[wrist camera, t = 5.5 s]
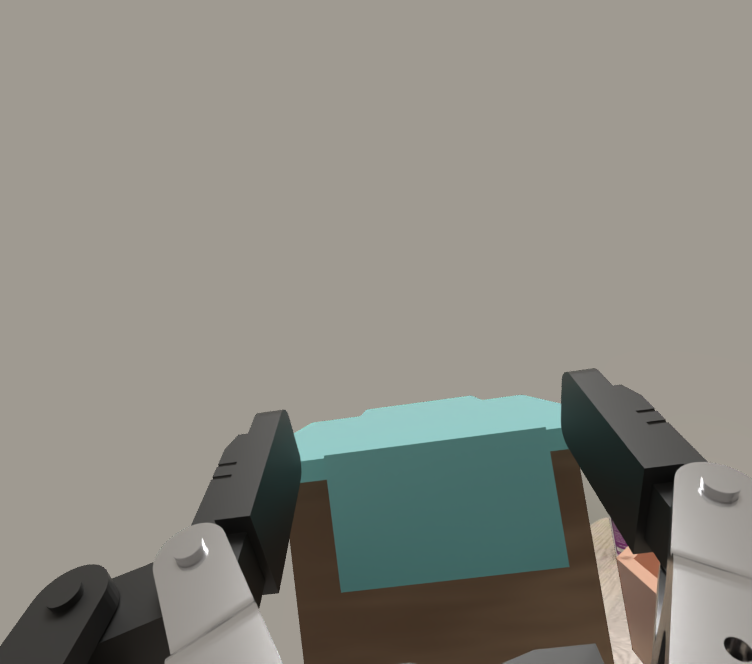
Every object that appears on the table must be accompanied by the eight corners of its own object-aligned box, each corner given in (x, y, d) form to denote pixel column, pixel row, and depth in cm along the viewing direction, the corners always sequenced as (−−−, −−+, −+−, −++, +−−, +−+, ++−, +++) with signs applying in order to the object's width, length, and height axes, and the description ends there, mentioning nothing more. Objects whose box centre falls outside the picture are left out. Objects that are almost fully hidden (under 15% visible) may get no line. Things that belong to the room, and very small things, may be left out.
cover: (313, 434, 32) (309, 400, 32) (523, 406, 31) (518, 372, 32) (46, 625, 8) (37, 492, 8) (905, 529, 7) (871, 384, 8)
